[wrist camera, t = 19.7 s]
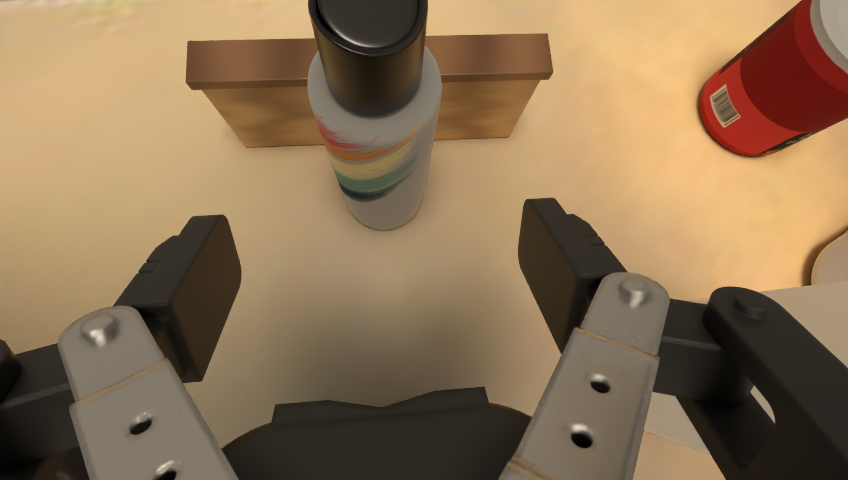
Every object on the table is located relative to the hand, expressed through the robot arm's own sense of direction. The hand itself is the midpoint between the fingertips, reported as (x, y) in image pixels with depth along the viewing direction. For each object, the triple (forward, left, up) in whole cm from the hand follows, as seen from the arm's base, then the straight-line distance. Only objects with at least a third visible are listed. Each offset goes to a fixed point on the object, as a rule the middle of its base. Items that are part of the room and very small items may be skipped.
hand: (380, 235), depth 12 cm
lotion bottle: (-3, +7, -20) cm, 21 cm away
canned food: (+23, +22, -20) cm, 38 cm away
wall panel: (-4, +12, -20) cm, 24 cm away
